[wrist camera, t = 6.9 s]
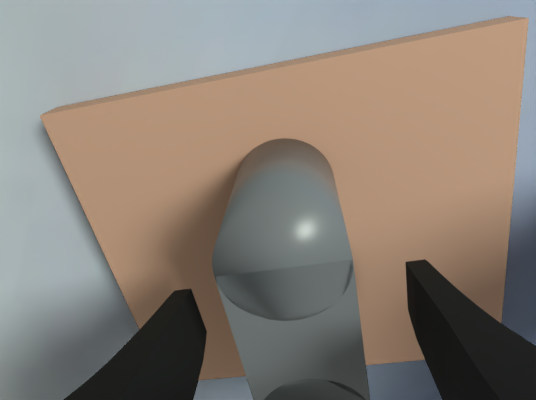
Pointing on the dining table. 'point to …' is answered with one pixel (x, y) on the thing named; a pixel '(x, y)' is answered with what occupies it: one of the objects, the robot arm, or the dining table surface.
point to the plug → (290, 277)
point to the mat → (339, 157)
